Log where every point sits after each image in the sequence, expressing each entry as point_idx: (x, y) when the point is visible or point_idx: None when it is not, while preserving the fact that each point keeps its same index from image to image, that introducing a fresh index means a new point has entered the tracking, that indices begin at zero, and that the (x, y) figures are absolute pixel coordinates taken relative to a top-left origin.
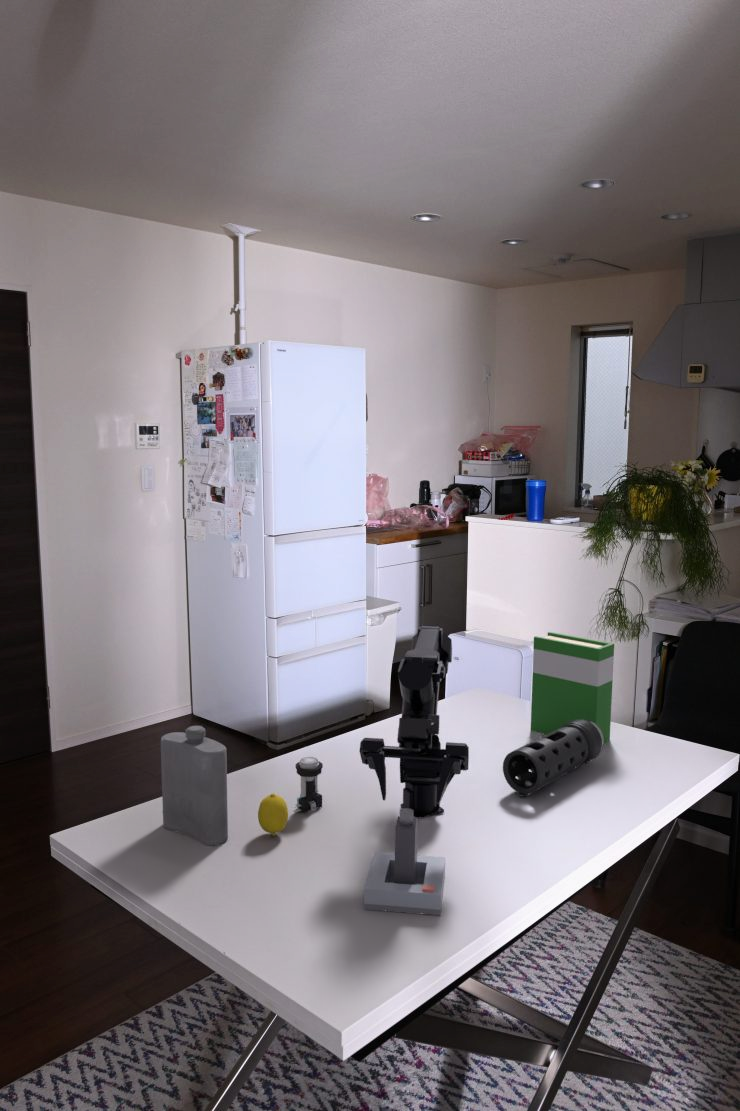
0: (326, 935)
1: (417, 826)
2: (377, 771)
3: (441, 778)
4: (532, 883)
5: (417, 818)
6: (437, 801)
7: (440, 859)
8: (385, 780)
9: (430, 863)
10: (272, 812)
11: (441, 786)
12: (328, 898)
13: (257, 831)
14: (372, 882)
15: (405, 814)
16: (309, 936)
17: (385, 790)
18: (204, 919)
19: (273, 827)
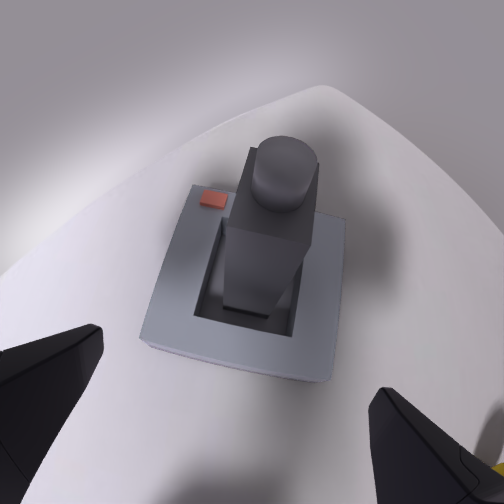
0: (373, 188)
1: (225, 245)
2: (486, 465)
3: (6, 371)
4: (12, 293)
5: (228, 219)
6: (99, 327)
7: (153, 327)
8: (400, 492)
9: (184, 310)
10: None
11: (37, 348)
12: (391, 280)
13: None
14: (331, 238)
15: (292, 138)
16: (392, 190)
17: (392, 416)
18: (496, 242)
19: (496, 465)
